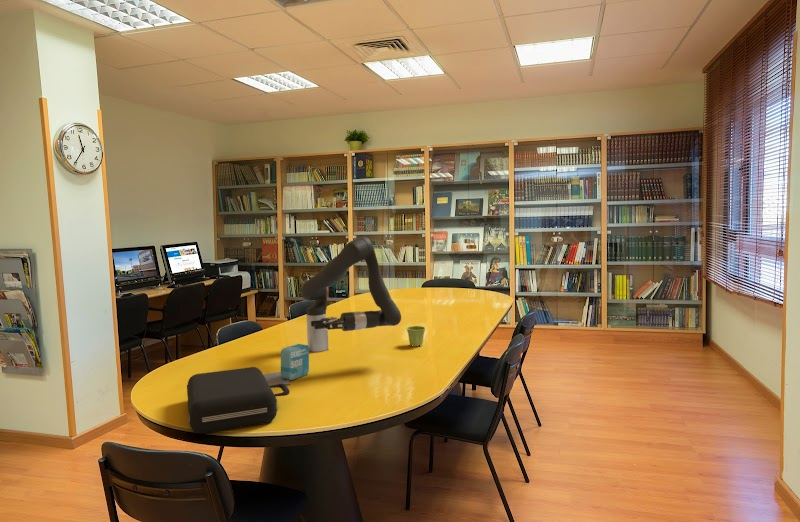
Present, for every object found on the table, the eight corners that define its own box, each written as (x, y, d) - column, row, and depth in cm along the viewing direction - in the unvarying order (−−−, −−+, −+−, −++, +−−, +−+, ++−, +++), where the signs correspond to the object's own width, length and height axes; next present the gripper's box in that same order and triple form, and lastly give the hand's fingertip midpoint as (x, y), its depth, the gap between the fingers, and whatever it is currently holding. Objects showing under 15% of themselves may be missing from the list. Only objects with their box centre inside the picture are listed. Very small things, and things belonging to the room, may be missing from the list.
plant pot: (429, 344, 259) (428, 326, 258) (421, 348, 251) (421, 330, 250) (411, 342, 263) (411, 325, 262) (403, 347, 255) (403, 329, 254)
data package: (289, 381, 203) (289, 350, 202) (280, 379, 205) (280, 348, 204) (309, 373, 213) (309, 344, 213) (300, 372, 216) (300, 343, 215)
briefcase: (299, 421, 164) (298, 389, 163) (189, 439, 152) (187, 405, 151) (279, 388, 197) (278, 361, 196) (187, 401, 185) (186, 373, 184)
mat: (282, 372, 216) (281, 371, 216) (290, 384, 200) (290, 383, 200) (246, 377, 211) (246, 376, 211) (252, 390, 194) (252, 389, 194)
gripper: (348, 309, 224) (308, 313, 217) (358, 314, 210) (316, 318, 204) (348, 327, 224) (309, 331, 218) (359, 333, 211) (317, 338, 204)
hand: (313, 325), depth 211 cm, fingers open, 5 cm apart
